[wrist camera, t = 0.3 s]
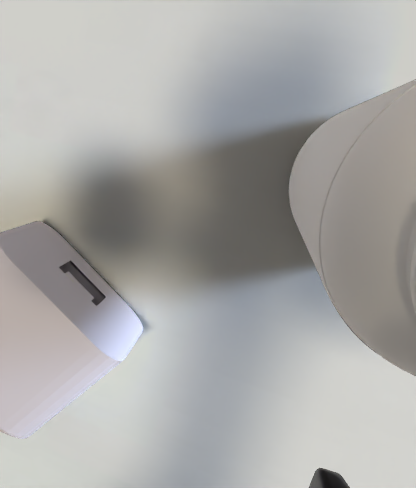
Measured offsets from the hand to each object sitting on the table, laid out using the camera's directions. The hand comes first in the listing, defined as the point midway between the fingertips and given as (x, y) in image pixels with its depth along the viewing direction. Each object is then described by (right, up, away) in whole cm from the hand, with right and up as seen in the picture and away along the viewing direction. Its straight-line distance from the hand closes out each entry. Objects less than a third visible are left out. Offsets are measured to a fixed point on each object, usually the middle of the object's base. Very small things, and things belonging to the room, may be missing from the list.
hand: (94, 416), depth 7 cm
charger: (-10, -3, +17) cm, 20 cm away
